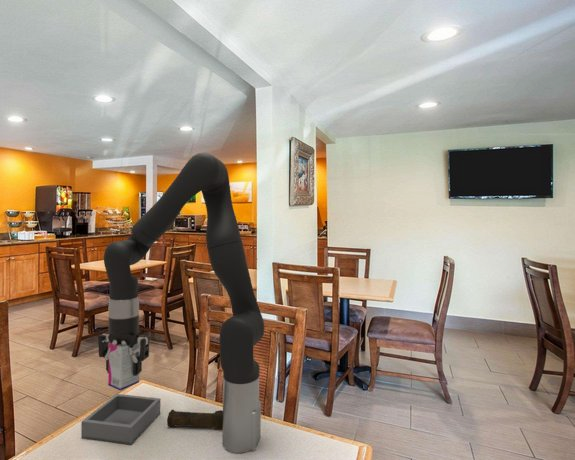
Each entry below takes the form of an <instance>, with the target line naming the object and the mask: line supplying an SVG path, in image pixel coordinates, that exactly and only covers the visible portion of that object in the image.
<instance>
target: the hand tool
mask: <svg viewBox="0 0 575 460" xmlns="http://www.w3.org/2000/svg"><path fill="white" fill-rule="evenodd" d="M166 424H167V427H168V428H169V427H173V428H175V427H177V426H178V427H196V428H197V427H198V428H199V427H200V428H213V429H214V431H223V409H222V410H219V409H218V410H216V411H214V412H213V413H211V412H210V413H209V412H194V411H193V412H191V411H177V410H174V409H171V410H170V411H169V412H168V414H167V418H166Z"/></svg>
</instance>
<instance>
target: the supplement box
mask: <svg viewBox="0 0 575 460" xmlns="http://www.w3.org/2000/svg"><path fill="white" fill-rule="evenodd" d="M108 346H109V348H110V353H109V373H108V377H107V378H108V379H107V380H108V381H107V382H108V384H107V385H108V386H109V387H111V388H114V389H116V390H118V391H124V390H126V389H128V388H129V387H132V386H134V385H136V384H138V383H140V373H139V374H138V375H137V376H133V363H134V361H133V359H132V357H131V356H129V355H128V346H123V345H122V344H117V345H112V343H110V342H108ZM137 348H139V349H140V346H139V342H137V344H135V345H134V346H133V348H131V349H132V351H134V350H136V349H137ZM136 356H137V353H136Z"/></svg>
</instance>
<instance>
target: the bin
mask: <svg viewBox="0 0 575 460" xmlns="http://www.w3.org/2000/svg"><path fill="white" fill-rule="evenodd" d="M160 415H161V398H160V397H159V398H157V397H152V396H151V397H150V396H149V397H148V396H140V395H130V394H124V393H115V394H114V395H113V396H112V397H111V398H109V399H107V401H106V402H105V403H103V404H102V405H101V406H99V407H98V408H97V409H95V410H94V411H93V412H92V413H90V414H89V415H88V416H86V417H85V418H84V419H82V420H81V422H80V423H81V424H80V425H81V426H80V427H81V429H80V430H81V431H80V433H81V434H80V435H81V438H80V439H82V440H83V439H84V440H90V441H91V440H92V441H97V442H105V443H106V442H107V443H110V444H111V443H112V444H113V443H114V444H119V445H128V446H132V445H133V444H134V443H135V442H136V441H137V439H139V438H140V436H141V435H142V434H143V433H144V432H145V431H146V430H147V429H148V428H149V427H150V426H151V424H152V423H153V422H154V421H155V420H156V419H157V418H158V416H160Z"/></svg>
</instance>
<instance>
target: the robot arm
mask: <svg viewBox="0 0 575 460" xmlns="http://www.w3.org/2000/svg"><path fill="white" fill-rule="evenodd" d="M229 178H230V177H229V171H228V168H227V167H226V165H225V164H224V162H222V161H221V160H220V159H218V158H217V157H215V155H212V154H210V153H207V152H198V153H196V154H194V155H193V156H192V157H190V158H189V159H188V161H187V162H186V163H185V164H184V166H183V167H182V169H181V171H180V172H179V173H178V175H177V176H176V178H175V179H174V180H173V181H172V182H171V184H170V185H169V187H168V188H167V189H166V191H164V193H163V194H162V195H161V197H159V199H157V201H156V202H155V203H154V204H153V205H152V206H151V207H150V208H149V209H148V210H147V212H145V213H144V214H143V215H142V216H141V218H139V219H138V220H137V222H135V223H134V225H133V226H132V228H131V234H130V236H128V237H127V238H126V239H125V240H116V241H112V242H110V243H109V244H108V245H107V246H106V248H105V250H104V253H103V263H104V268H105V272H106V275H107V279H108V282H109V300H108V306H107V307H108V313H107V314H108V316H107V317H108V319H107V320H108V322H107V324H108V326H107V327H108V328H107V329H108V333H107V332H104V333H102V334H100V335H99V336H98V340H97V342H98V346H97V347H98V357H99V358H103V359H105V370H106V372H107V374H109V353H110V348H109V343H112V345H117V344H122V345H123V346H128V355H129V356H131V357H132V359H133V361H134V363H133V376H137V375H138V374H139V375H140V373H142V370H143V367H142V366H143V361H145V360H146V359H148V358H149V357H150V339H151V338H150V337H149V336H148V335H146V336H145V337H144V336H140V335H139V328H140V301H139V300H140V299H139V280H138V279H139V278H138V277H137V276H136V275H134V274H132V270H131V266H134V265H135V264H137V263H139V262H140V261H141V260H142V259H143V258H144V257H146V255H147V253H148V252H149V251H150V250H151V248H152V247H153V245H154V243H156V242H157V241H158V240H159V239H160V238H161V237H162V236H163V235H164V234H165V233H166V232H168V230H169V229H171V227H172V226H173V224H174V223H175V221H176V220H177V218H178V217H179V215H180V213H181V211H182V209H183V208H184V207H185V206H186V204H187V203H188V202H189V201H190V200H191V199H192V198H193V197H194V196H196V195H197V194H198V193H201V194H202V197H203V202H204V204H205V208H206V215H207V216H206V218H207V219H206V227H205V228H206V230H205V243H206V249H207V254H208V258H209V264H210V267H211V269H212V271H213V272H214V274H215V276H216V277H217V279H218V280H219V281H220V283H221V285H222V286H223V288H224V289H225V291H226V292H227V295H228V298H229V300H230V306H231V309H232V311H231V312H232V316H230V317H229V318H227V319H226V320H225V321H223V323H222V325H221V327H220V330H219V362H220V369H221V370H222V373H223V374H222V378H223V380H222V383H223V384H222V411H223V430H222V433H221V434H222V435H221V438H222V442H221V443H222V446H223V448H224V449H225V450H226V451H228V452H231V453H235V454H239V453H242V454H243V453H247V452H249V451H252V452H254V451H256V449H257V447H258V445H259V444H258V443H259V441H260V439H261V424H262V423H261V422H262V419H261V418H262V401H261V400H260V373H261V371H260V365H259V363H258V361H256V360H255V359H254V346H256V345H257V344H258V343H259V342H260V341H261V340H262V338H264V334H265V321H264V318H263V315H262V312H261V310H260V307H259V306H260V305H259V303H258V301H257V298H256V295H255V292H254V289H253V283H252V278H251V275H250V270H249V266H248V262H247V257H246V252H245V247H244V244H243V239H242V235H241V231H240V228H239V225H238V220H237V216H236V214H235V213H236V212H235V210H234V207H233V202H232V201H233V200H232V194H231V186H230V185H231V184H230V179H229ZM137 342H139V346H140V349H139V348H137V349H136V350H134V351H132V349H131V348H133V346H134V345H135V344H137ZM136 353H137V356H136Z"/></svg>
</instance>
